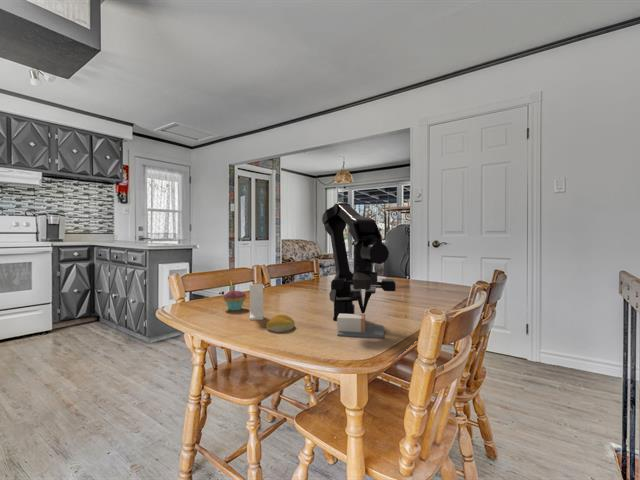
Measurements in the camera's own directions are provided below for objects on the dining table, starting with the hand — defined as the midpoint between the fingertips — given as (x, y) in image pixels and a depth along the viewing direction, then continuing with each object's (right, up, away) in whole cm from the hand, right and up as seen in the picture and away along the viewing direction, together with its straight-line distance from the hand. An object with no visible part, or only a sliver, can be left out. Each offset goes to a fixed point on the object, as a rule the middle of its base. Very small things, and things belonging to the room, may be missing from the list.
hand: (363, 313), depth 100 cm
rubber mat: (-1, -6, 0) cm, 6 cm away
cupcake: (-46, -5, +30) cm, 55 cm away
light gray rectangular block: (-35, -5, +17) cm, 39 cm away
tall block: (0, -3, 0) cm, 3 cm away
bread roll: (-25, -6, +4) cm, 26 cm away
